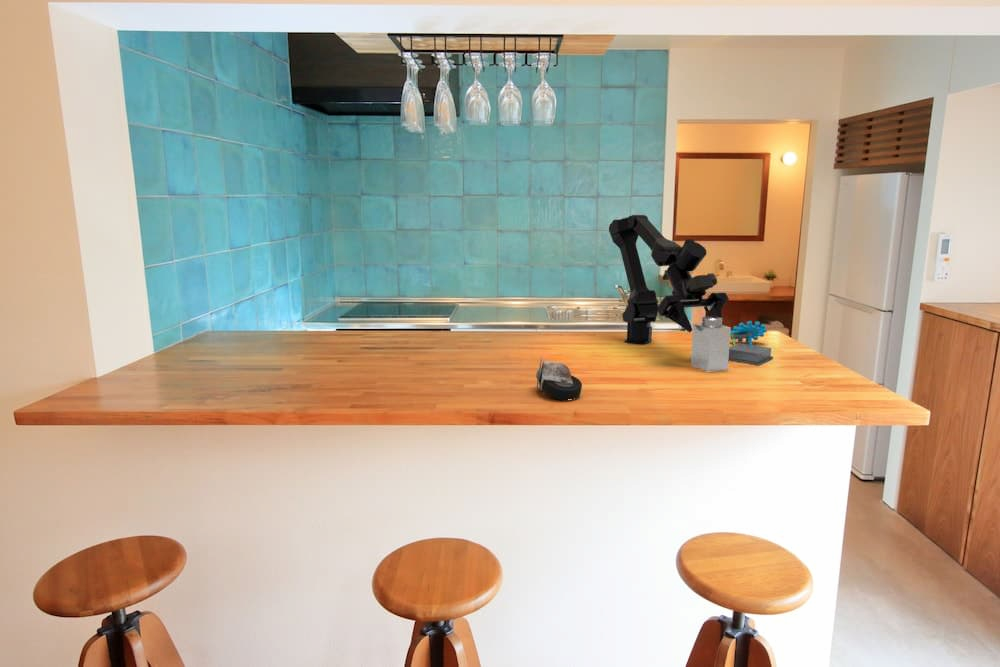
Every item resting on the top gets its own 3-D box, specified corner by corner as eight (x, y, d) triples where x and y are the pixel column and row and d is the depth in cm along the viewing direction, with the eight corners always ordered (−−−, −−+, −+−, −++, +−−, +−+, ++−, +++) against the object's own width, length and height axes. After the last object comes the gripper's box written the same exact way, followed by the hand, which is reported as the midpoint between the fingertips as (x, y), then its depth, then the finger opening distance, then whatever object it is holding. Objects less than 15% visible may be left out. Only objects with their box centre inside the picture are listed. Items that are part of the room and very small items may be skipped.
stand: (721, 359, 173) (722, 348, 172) (736, 353, 180) (737, 342, 180) (758, 365, 166) (759, 354, 166) (773, 358, 174) (773, 347, 173)
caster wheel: (578, 412, 138) (533, 404, 138) (577, 386, 148) (534, 380, 149) (584, 385, 135) (537, 377, 136) (582, 361, 146) (539, 354, 146)
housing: (690, 365, 167) (693, 316, 164) (710, 363, 169) (713, 315, 166) (707, 372, 160) (711, 321, 158) (727, 370, 162) (731, 319, 159)
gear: (765, 336, 195) (767, 317, 187) (768, 352, 191) (770, 334, 183) (726, 339, 197) (727, 321, 190) (728, 355, 194) (729, 337, 186)
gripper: (665, 264, 163) (689, 313, 155) (726, 261, 169) (752, 309, 161) (647, 291, 172) (669, 339, 164) (706, 288, 178) (730, 334, 170)
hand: (706, 330), depth 164 cm, fingers open, 9 cm apart
